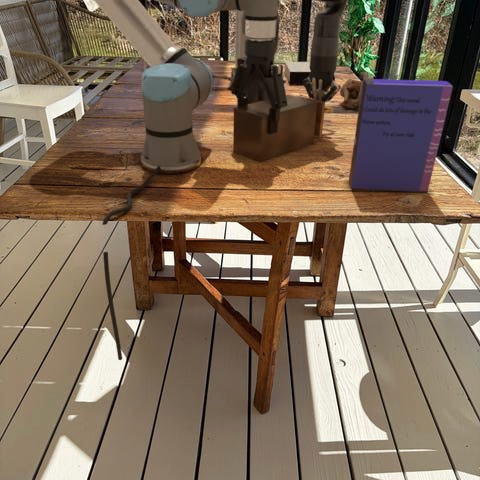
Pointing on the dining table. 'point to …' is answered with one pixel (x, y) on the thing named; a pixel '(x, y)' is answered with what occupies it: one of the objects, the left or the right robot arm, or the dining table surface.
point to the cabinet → (289, 128)
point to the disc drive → (297, 71)
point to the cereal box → (398, 134)
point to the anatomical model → (352, 91)
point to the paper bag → (239, 38)
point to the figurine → (230, 77)
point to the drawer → (319, 115)
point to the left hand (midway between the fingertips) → (257, 127)
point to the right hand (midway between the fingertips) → (318, 114)
